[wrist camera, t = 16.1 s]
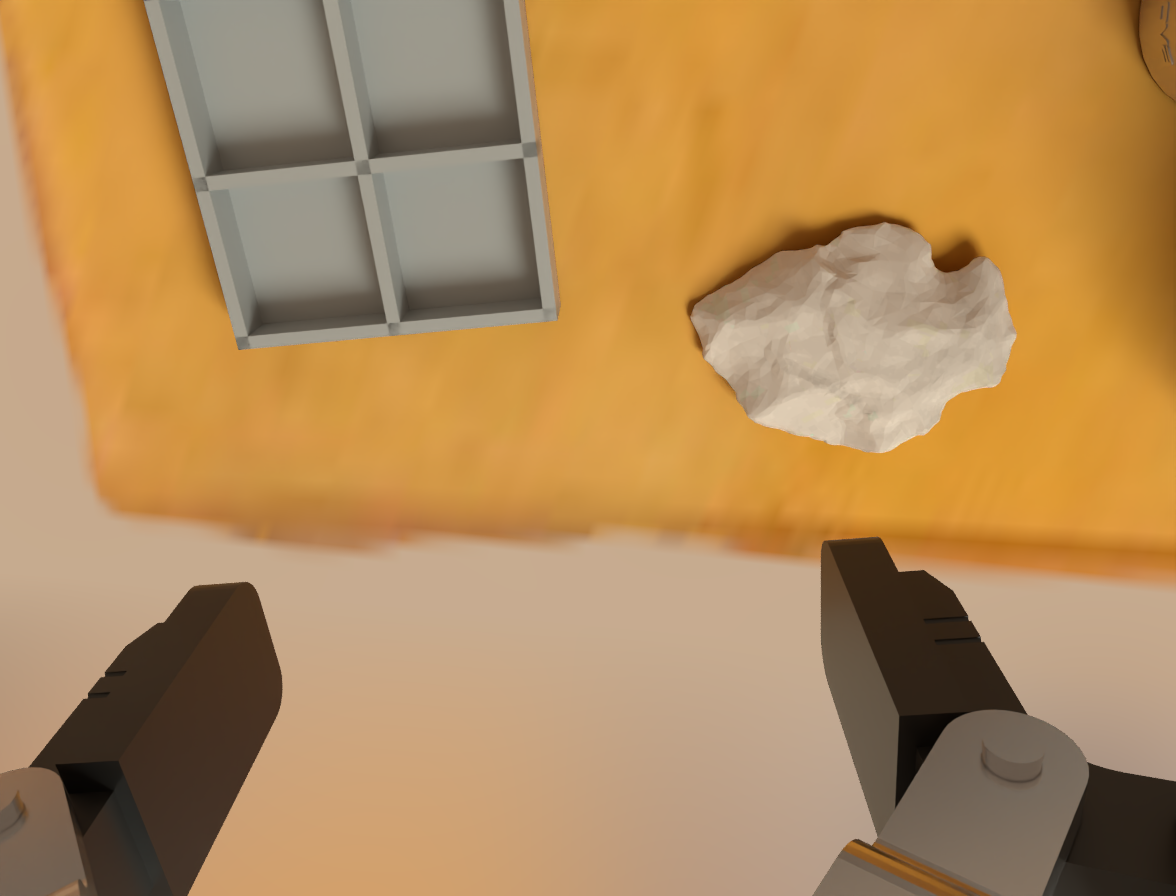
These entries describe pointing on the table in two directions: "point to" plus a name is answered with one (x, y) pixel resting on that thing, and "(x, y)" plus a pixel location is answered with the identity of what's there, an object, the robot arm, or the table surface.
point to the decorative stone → (857, 337)
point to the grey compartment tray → (363, 163)
